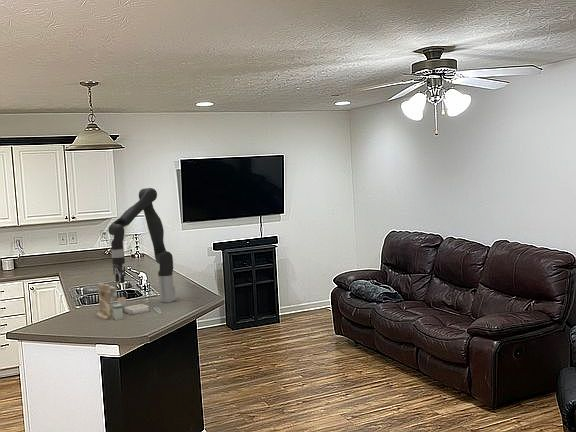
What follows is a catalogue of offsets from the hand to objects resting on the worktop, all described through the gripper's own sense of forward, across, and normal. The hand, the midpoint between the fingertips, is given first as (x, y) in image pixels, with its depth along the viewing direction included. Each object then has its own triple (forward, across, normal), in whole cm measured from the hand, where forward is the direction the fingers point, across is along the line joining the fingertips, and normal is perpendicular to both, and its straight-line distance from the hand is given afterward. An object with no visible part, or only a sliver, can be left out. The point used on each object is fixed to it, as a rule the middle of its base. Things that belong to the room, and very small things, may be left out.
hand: (120, 282), depth 376 cm
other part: (+18, -20, +10) cm, 29 cm away
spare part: (+18, 0, 0) cm, 18 cm away
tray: (+18, -11, -5) cm, 21 cm away
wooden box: (+18, -8, +11) cm, 23 cm away
